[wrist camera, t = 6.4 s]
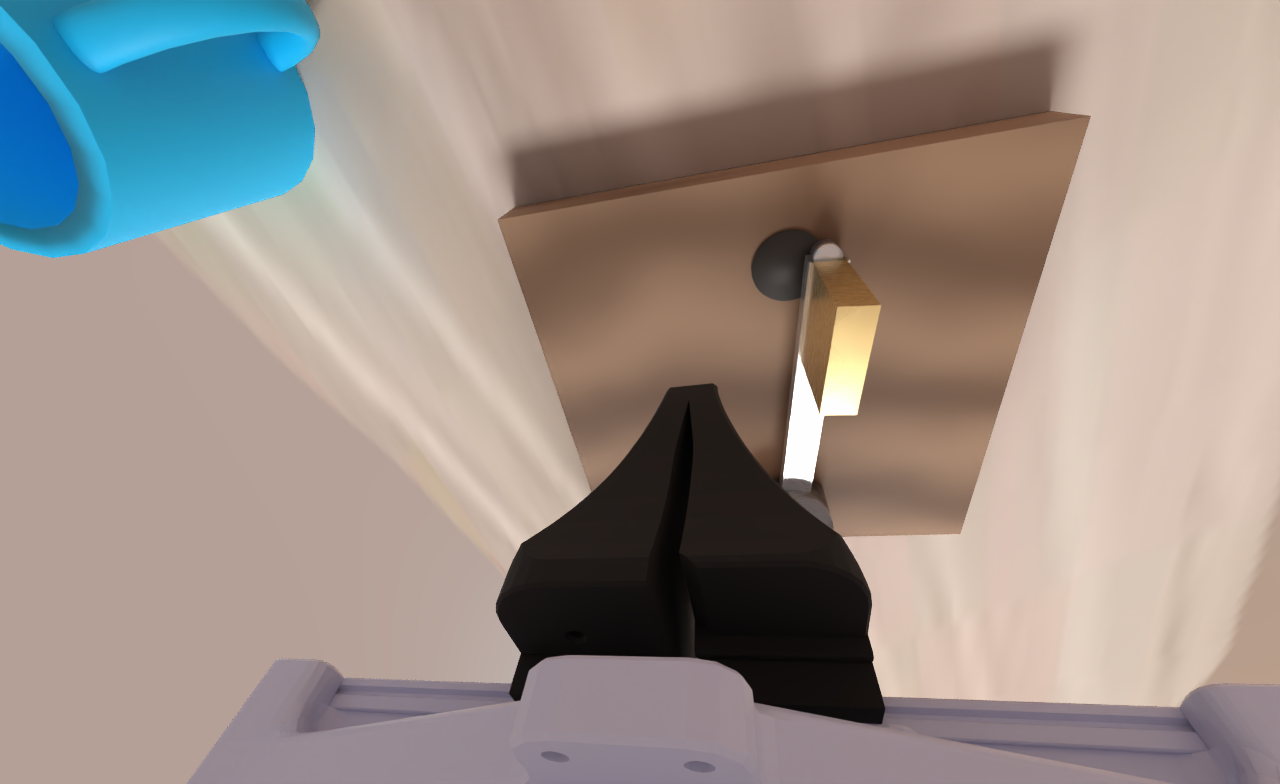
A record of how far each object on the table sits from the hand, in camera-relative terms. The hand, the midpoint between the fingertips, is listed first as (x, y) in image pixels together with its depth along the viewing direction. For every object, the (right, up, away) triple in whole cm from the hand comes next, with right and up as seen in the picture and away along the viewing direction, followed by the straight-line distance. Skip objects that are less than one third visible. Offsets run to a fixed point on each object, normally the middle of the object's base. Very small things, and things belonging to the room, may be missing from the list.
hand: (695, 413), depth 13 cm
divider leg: (+6, 0, +8) cm, 10 cm away
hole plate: (+5, +1, +10) cm, 11 cm away
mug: (-17, +13, +5) cm, 22 cm away
